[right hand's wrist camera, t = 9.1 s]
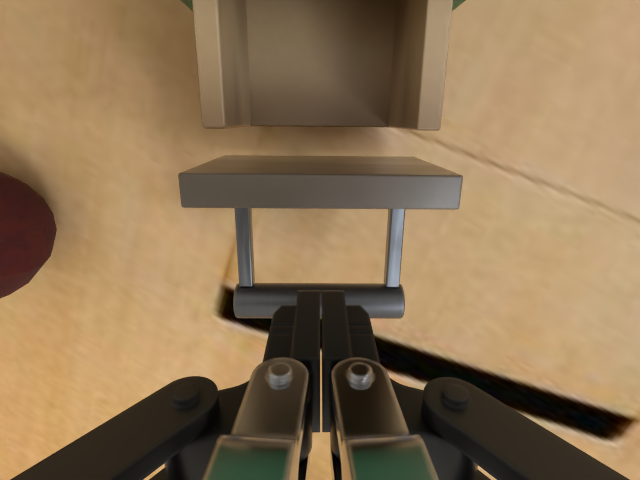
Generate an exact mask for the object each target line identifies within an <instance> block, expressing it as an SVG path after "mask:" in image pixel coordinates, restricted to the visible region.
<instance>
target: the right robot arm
mask: <svg viewBox="0 0 640 480" xmlns="http://www.w3.org/2000/svg"><path fill="white" fill-rule="evenodd" d="M312 432H320V290H298V295H297V303H296V305H281V307H280V308H279V309H278V310H277V311H276V312H275V313H274V314H273V317H272V322H271V327H270V331H269V336H268V340H267V345H266V349H265V354H264V359H263V363H261V364H260V365H258V366H257V367H256V368H255V369H254V371H253V373H252V375H251V378H250V380H249V381H248V382H246V383H244V384H241V385H239V386H236V387H232V388H228V389H223V390H219V391H218V389H217V386H216V385H215V383H214V382H213V381H212V380H210V379H208V378H205V377H200V376H192V377H185V378H181V379H178V380H176V381H173V382H172V383H170V384H168V385H166V386H165V387H163V388H161V389H160V390H158V391H156V392H155V393H153V394H151V395H150V396H148V397H146V398H145V399H143V400H141V401H140V402H138V403H136V404H135V405H133V406H132V407H130V408H128V409H127V410H125V411H123V412H122V413H120V414H118V415H117V416H115V417H113V418H112V419H110V420H108V421H107V422H105V423H103V424H102V425H100V426H98V427H97V428H95V429H93V430H92V431H90V432H89V433H87V434H85V435H84V436H82V437H80V438H79V439H77V440H75V441H74V442H72V443H70V444H69V445H67V446H65V447H64V448H62V449H60V450H59V451H57V452H55V453H54V454H52V455H50V456H49V457H47V458H46V459H44V460H42V461H41V462H39V463H37V464H36V465H34V466H32V467H31V468H29V469H27V470H26V471H24V472H22V473H21V474H19V475H17V476H16V477H14V478H12V479H11V480H143V479H144V478H146V477H147V476H148V475H150V474H151V473H152V472H154V471H155V470H156V469H157V468H159V467H160V466H161V465H163V464H164V463H165V468H164V469H162V470H161V471H160V472H158V473H157V474H156V475H155V476H153V477H152V478H151V479H149V480H307V479H308V470H309V459H310V456H309V453H310V451H311V448H312ZM322 432H330V440H331V456H330V459H331V470H332V479H333V480H491V479H489V478H488V477H487V476H485V475H484V474H483V473H482V472H480V471H479V470H478V469H477V467H478V465H479V466H480V467H481V468H483V469H484V470H485V471H486V472H488V473H489V474H490V475H492V476H493V477H494V478H496V479H497V480H629V479H628V478H626V477H624V476H623V475H621V474H619V473H618V472H616V471H614V470H613V469H611V468H609V467H608V466H606V465H604V464H603V463H601V462H599V461H598V460H596V459H595V458H593V457H591V456H590V455H588V454H586V453H585V452H583V451H581V450H580V449H578V448H576V447H575V446H573V445H571V444H570V443H568V442H566V441H565V440H563V439H561V438H560V437H558V436H556V435H555V434H553V433H551V432H550V431H548V430H547V429H545V428H543V427H542V426H540V425H538V424H537V423H535V422H533V421H532V420H530V419H528V418H527V417H525V416H523V415H522V414H520V413H518V412H517V411H515V410H513V409H512V408H510V407H508V406H507V405H505V404H504V403H502V402H500V401H499V400H497V399H495V398H494V397H492V396H490V395H489V394H487V393H485V392H484V391H482V390H480V389H479V388H477V387H475V386H474V385H472V384H470V383H468V382H466V381H464V380H461V379H457V378H452V377H441V378H436V379H433V380H431V381H430V382H428V383H427V385H426V386H425V388H424V390H420V389H416V388H412V387H408V386H404V385H402V384H399V383H397V382H395V381H393V380H392V379H391V378H389V375H388V373H387V371H386V369H385V368H384V367H383V366H382V365H380V361H379V357H378V352H377V348H376V344H375V339H374V335H373V330H372V326H371V322H370V317H369V314H368V313H367V312H366V311H365V310H364V309H363V308H362V306H361V305H346V303H345V295H344V290H322Z"/></svg>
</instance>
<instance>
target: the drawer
mask: <svg viewBox="0 0 640 480" xmlns="http://www.w3.org/2000/svg"><path fill="white" fill-rule="evenodd" d="M192 3H193V16H194V28H195V41H196V53H197V65H198V78H199V90H200V103H201V115H202V126H203V127H204V128H234V127H244V126H312V127H392V128H402V129H411V130H440V125H441V115H442V105H443V95H444V85H445V75H446V65H447V55H448V45H449V35H450V24H451V14H452V4H453V0H192ZM178 176H179V186H180V195H181V205H182V207H184V208H235V221H236V238H237V255H238V271H239V283H238V284H237V285H236V288H235V292H234V313H235V316H236V317H237V318H272V317H273V314H274V313H275V312H276V311H277V310H278V309H279V308H280V307H281V305H296V303H297V295H298V290H320V318H322V290H344V295H345V303H346V305H361V306H362V308H363V309H364V310H365V311H366V312H367V313H368V314H369V317H370V318H402V317H403V314H404V309H405V297H404V291H403V287H402V285H401V284H399V282H400V269H401V256H402V243H403V230H404V217H405V209H459V205H460V196H461V188H462V180H463V176H462V175H459V174H457V173H454V172H451V171H449V170H446V169H444V168H441V167H438V166H436V165H433V164H431V163H428V162H425V161H423V160H420V159H418V158H415V157H363V156H238V155H225V156H222V157H220V158H217V159H215V160H212V161H210V162H207V163H205V164H202V165H200V166H197V167H195V168H192V169H189V170H187V171H184V172H182V173H179V175H178ZM251 208H320V209H388V224H387V240H386V256H385V271H384V283H385V284H326V283H254V282H255V277H254V256H253V234H252V213H251Z"/></svg>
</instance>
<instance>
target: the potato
mask: <svg viewBox="0 0 640 480" xmlns="http://www.w3.org/2000/svg"><path fill="white" fill-rule="evenodd" d="M56 231H57V230H56V225H55V221H54V216H53V213H52V211H51V210H50V208H49V207H48V205H47V204H46V202H45V201H44V199H43V198H42V197H41V196H40V195H39V194H37V193H36V192H35V191H34V190H33V189H31V188H30V187H29V186H28V185H26V184H25V183H23V182H21V181H19V180H17V179H15V178H13V177H11V176H9V175H6V174H4V173H2V172H0V298H2V297H5V296H7V295H10V294H11V293H13V292H15V291H16V290H18V289H19V288H21V287H23V286H24V285H26V284H27V283H29V282H30V280H31V279H32V278H33V277H34V275H35V274H36V273H37V272H38V271H39V269H40V268H41V267H42V266H43V264H44V263H45V262H46V261H47V260H48V258H49V257H50V256H51V252H52V249H53V245H54V240H55V235H56Z"/></svg>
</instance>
